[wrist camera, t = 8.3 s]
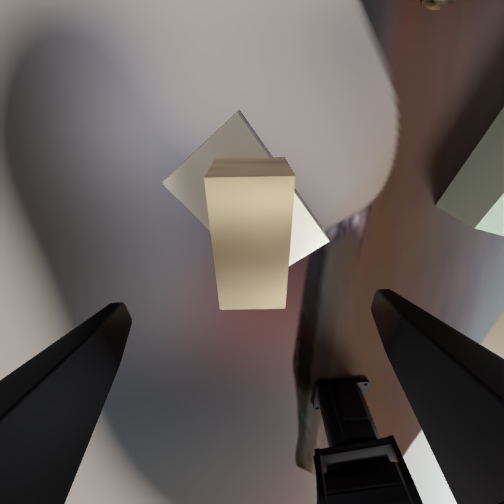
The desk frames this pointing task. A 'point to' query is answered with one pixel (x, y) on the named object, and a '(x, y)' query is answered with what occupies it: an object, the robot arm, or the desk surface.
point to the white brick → (239, 146)
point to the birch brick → (250, 230)
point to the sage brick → (480, 184)
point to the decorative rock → (435, 3)
